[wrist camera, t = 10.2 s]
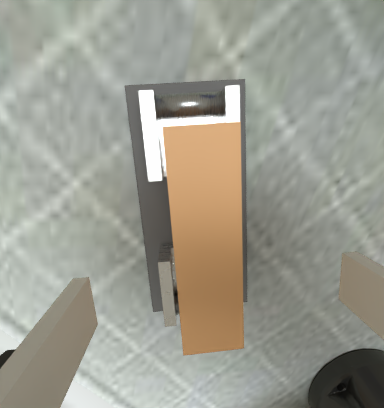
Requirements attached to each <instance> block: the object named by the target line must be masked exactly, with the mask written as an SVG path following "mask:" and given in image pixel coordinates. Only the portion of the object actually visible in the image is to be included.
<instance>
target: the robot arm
mask: <svg viewBox="0 0 384 408" xmlns="http://www.w3.org/2000/svg"><path fill="white" fill-rule="evenodd" d="M339 300H340V301H341V302H342V303H344V304H345V305H346V306H347V307H348V308H349V309H350V310H351V311H352V312H353V313H355V314H356V315H357V316H358V317H359V318H360V319H361V320H362V321H363V322H364V323H366V324H367V325H368V326H369V327H370V328H371V329H372V330H373V331H374V332H375V333H377V334H378V335H379V336H380V337H381V338H382V339H383V340H384V267H383V266H381V265H380V264H378V263H376V262H374V261H372V260H371V259H369V258H367V257H365V256H363V255H362V254H360V253H358V252H347V253H342V264H341V276H340V288H339ZM97 325H98V323H97V318H96V312H95V307H94V302H93V296H92V291H91V286H90V281H89V277H85V278H74V279H72V281H71V282H70V283H69V284H68V286H67V287H66V288H65V289H64V291H63V292H62V293H61V294H60V296H59V297H58V298H57V299H56V300H55V302H54V303H53V304H52V305H51V307H50V308H49V309H48V310H47V312H46V313H45V314H44V315H43V317H42V318H41V319H40V320H39V322H38V323H37V324H36V325H35V326H34V328H33V329H32V330H31V331H30V333H29V334H28V335H27V336H26V338H25V339H24V340H23V341H22V343H21V344H20V345H19V346H18V347H17V349H15V350H7V351H5V352H4V353H3V354H2V355H0V408H60V407H61V404H62V402H63V400H64V397H65V396H66V393H67V391H68V389H69V387H70V384H71V382H72V380H73V378H74V376H75V373H76V371H77V369H78V367H79V365H80V362H81V360H82V358H83V356H84V354H85V351H86V349H87V347H88V345H89V343H90V340H91V338H92V336H93V334H94V331H95V329H96V327H97ZM309 405H310V408H384V352H383V351H379V350H370V349H368V350H358V351H354V352H350V353H347V354H345V355H342V356H340V357H338V358H337V359H335V360H333V361H332V362H330V363H329V364H328V365H327V366H325V367H324V368H323V369H322V370H321V371H320V372H319V374H318V375H317V376H316V378H315V379H314V381H313V383H312V385H311V388H310V391H309Z"/></svg>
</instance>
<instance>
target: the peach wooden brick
mask: <svg viewBox="0 0 384 408" xmlns="http://www.w3.org/2000/svg"><path fill="white" fill-rule="evenodd" d="M162 130H163V141H164V152H165V162H166V173H167V184H168V194H169V205H170V216H171V226H172V237H173V248H174V259H175V269H176V280H177V291H178V301H179V312H180V323H181V333H182V344H183V355H192V354H200V353H209V352H217V351H226V350H234V349H242V348H244V323H243V254H242V185H241V122H225V123H210V124H194V125H178V126H163V127H162Z"/></svg>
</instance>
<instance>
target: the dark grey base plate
mask: <svg viewBox="0 0 384 408" xmlns="http://www.w3.org/2000/svg"><path fill="white" fill-rule="evenodd" d="M232 85H240V122H241V185H242V254H243V302H247V236H246V134H245V79H239V80H220V81H201V82H183V83H164V84H145V85H127V86H125V92H126V100H127V108H128V116H129V124H130V132H131V139H132V147H133V155H134V163H135V171H136V179H137V187H138V195H139V203H140V211H141V219H142V227H143V235H144V243H145V251H146V258H147V266H148V274H149V282H150V290H151V298H152V306H153V312H158V311H163V304H162V295H161V286H160V277H159V269H158V258H159V251H160V244H169V243H173V237H172V226H171V216H170V205H169V194H168V184H167V176H164V177H163V179H162V181H151V182H149V181H148V172H147V163H146V154H145V145H144V136H143V128H142V119H141V110H140V101H139V92H138V91H141V90H153V91H154V94H155V95H162V94H180V93H198V92H215V91H222V89H223V88H224V87H225V86H232Z"/></svg>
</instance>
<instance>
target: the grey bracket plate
mask: <svg viewBox="0 0 384 408" xmlns="http://www.w3.org/2000/svg"><path fill="white" fill-rule="evenodd" d="M138 92H139V101H140V110H141V119H142V128H143V136H144V145H145V154H146V163H147V172H148V181H149V182H151V181H162V179H163V177H164V176H167V173H166V162H165V152H164V141H163V130H162V127H163V126H178V125H194V124H210V123H225V122H240V85H232V86H225V87H224V88H223V89H222V91H215V92H198V93H180V94H162V95H155V94H154V91H153V90H141V91H138ZM158 269H159V277H160V286H161V295H162V304H163V313H164V322H165V327H167V326H176V315H177V314H180V312H179V301H178V291H177V280H176V269H175V259H174V248H173V243H169V244H160V251H159V258H158Z"/></svg>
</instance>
